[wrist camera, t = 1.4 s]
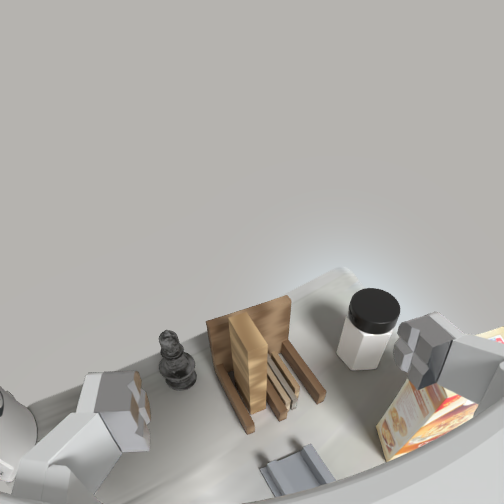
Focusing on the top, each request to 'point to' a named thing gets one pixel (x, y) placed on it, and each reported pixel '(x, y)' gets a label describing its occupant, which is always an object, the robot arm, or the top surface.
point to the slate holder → (297, 472)
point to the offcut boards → (282, 381)
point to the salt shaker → (176, 362)
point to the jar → (367, 328)
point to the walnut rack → (276, 336)
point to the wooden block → (249, 361)
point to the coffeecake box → (425, 413)
